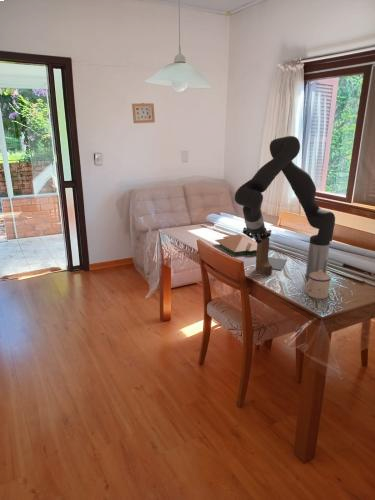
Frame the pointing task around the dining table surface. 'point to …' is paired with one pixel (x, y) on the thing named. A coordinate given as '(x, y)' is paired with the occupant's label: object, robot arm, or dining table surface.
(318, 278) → the teacup with lid
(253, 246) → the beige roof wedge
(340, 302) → the dining table surface
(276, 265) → the mat
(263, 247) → the wooden block
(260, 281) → the dining table surface
